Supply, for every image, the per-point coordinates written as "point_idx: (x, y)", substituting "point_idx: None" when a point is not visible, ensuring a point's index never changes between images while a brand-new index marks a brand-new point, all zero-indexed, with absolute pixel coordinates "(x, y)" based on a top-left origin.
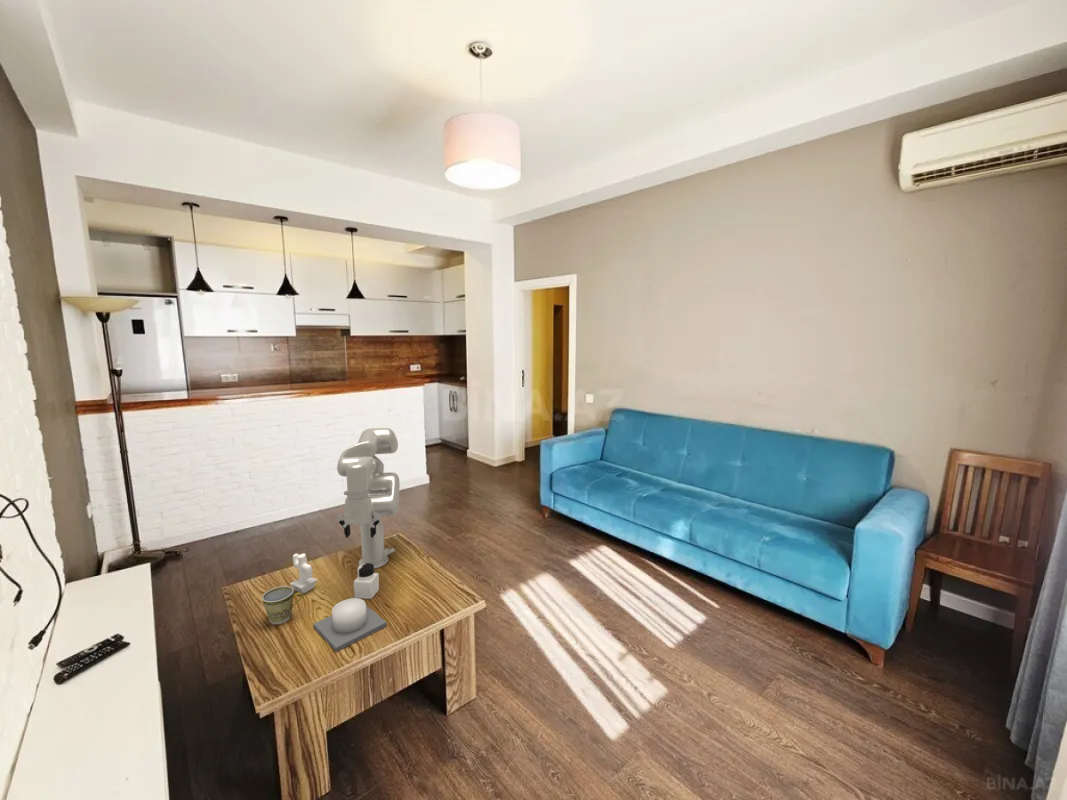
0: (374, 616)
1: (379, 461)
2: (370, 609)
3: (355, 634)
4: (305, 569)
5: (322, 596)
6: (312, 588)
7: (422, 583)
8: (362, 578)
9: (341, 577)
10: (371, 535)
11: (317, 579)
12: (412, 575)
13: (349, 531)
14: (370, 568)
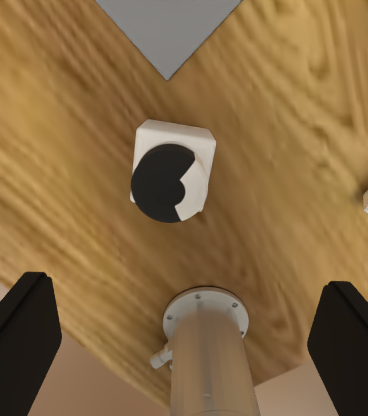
0: None
1: None
2: (114, 18)
3: None
4: None
5: (322, 146)
6: (364, 193)
7: (6, 205)
8: (175, 142)
9: (283, 249)
10: (23, 287)
11: (364, 210)
12: (59, 250)
13: (331, 369)
14: (137, 170)
